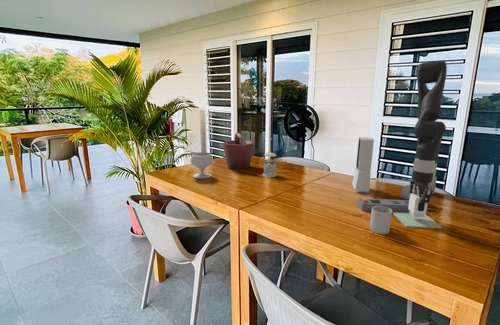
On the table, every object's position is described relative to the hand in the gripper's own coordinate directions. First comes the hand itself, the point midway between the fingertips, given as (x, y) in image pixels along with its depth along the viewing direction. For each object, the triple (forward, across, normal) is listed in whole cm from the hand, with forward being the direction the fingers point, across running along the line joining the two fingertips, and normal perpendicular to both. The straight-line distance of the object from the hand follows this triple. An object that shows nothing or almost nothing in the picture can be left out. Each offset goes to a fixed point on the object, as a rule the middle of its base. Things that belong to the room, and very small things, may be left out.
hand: (417, 208), depth 121 cm
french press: (+6, +65, +65) cm, 92 cm away
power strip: (+6, +12, +3) cm, 14 cm away
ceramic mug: (+6, +26, -10) cm, 28 cm away
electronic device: (+6, +40, +12) cm, 42 cm away
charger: (+3, 0, 0) cm, 3 cm away
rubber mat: (+6, 0, 0) cm, 6 cm away
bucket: (+6, +84, +88) cm, 122 cm away
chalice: (+6, +56, +108) cm, 122 cm away
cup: (+6, -10, +18) cm, 21 cm away
